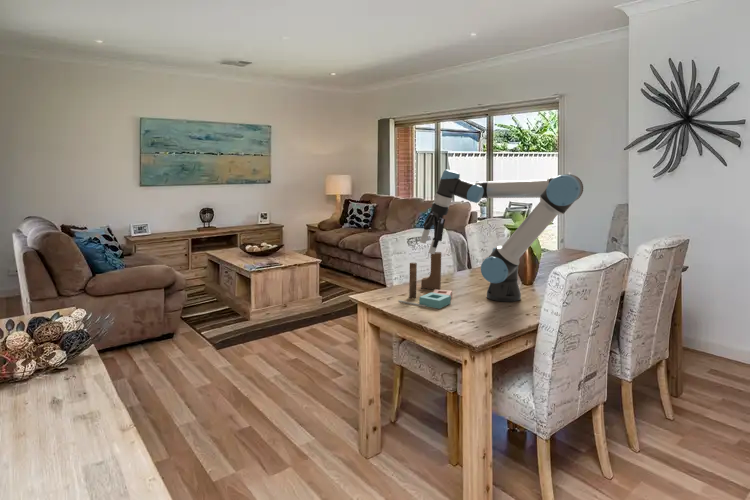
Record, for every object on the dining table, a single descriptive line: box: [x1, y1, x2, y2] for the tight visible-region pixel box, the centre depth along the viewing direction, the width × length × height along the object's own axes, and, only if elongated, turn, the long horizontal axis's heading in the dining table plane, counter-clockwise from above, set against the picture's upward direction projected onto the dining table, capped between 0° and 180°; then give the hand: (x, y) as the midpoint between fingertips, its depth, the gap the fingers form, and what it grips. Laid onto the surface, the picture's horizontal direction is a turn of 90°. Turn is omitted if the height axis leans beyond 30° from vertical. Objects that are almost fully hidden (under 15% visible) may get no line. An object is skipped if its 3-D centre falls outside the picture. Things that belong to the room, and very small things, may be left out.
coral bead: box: [432, 289, 453, 299], centre depth 225 cm, size 8×8×3 cm
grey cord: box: [398, 299, 427, 308], centre depth 216 cm, size 14×1×1 cm, turn 54°
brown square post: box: [408, 262, 418, 299], centre depth 226 cm, size 3×3×16 cm
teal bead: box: [418, 292, 452, 309], centre depth 216 cm, size 10×10×4 cm
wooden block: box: [420, 251, 442, 290], centre depth 243 cm, size 9×4×18 cm, turn 74°
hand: (426, 248), depth 226 cm, fingers open, 13 cm apart
